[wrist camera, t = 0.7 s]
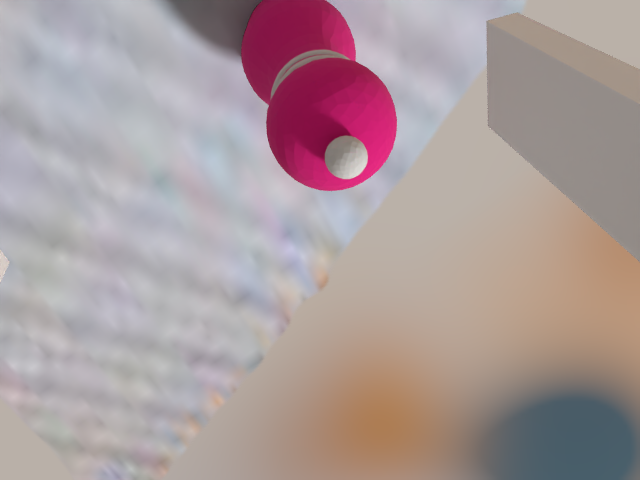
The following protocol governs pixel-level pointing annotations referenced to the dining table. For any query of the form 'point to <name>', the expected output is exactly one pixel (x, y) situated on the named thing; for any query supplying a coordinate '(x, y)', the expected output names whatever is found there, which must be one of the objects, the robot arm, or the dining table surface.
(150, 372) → the dining table surface
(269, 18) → the pepper mill
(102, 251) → the dining table surface
